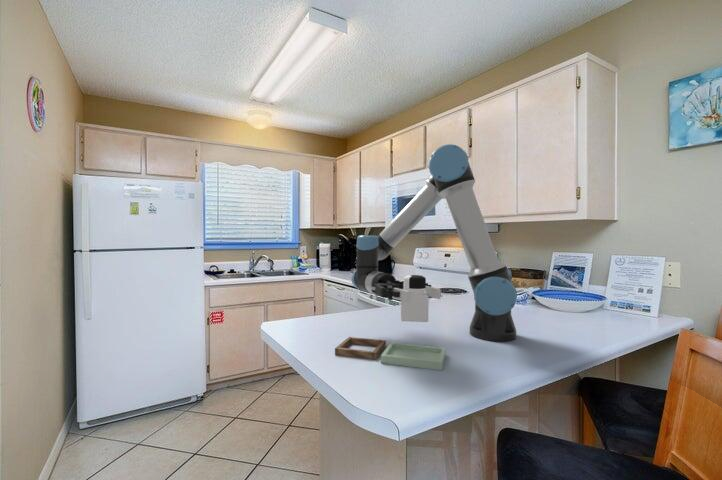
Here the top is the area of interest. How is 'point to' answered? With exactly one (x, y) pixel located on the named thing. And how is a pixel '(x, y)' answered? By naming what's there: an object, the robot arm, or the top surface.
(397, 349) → the tray
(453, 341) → the top surface
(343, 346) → the frame
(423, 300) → the medicine bottle
